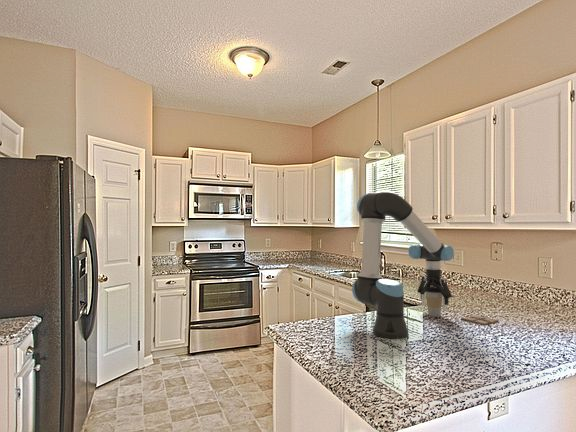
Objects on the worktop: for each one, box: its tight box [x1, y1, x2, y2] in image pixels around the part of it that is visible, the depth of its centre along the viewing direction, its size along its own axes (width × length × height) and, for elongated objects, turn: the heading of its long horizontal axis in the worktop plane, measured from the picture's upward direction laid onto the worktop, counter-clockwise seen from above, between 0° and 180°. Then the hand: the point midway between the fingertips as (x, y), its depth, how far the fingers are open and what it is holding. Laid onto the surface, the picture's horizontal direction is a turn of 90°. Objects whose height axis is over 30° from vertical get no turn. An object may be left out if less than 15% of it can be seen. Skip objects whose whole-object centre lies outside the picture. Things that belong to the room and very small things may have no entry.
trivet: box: [460, 314, 499, 326], centre depth 177 cm, size 12×12×1 cm
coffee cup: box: [425, 286, 443, 318], centre depth 190 cm, size 9×9×15 cm
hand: (434, 308), depth 189 cm, fingers open, 13 cm apart
